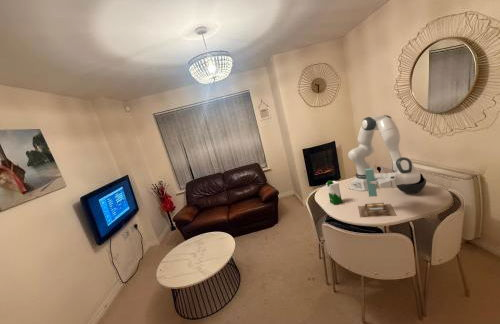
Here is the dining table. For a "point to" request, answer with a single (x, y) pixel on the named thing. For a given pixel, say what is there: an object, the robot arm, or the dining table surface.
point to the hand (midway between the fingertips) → (369, 181)
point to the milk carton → (334, 192)
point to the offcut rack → (386, 211)
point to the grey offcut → (376, 209)
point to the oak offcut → (375, 206)
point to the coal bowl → (413, 186)
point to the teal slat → (369, 178)
